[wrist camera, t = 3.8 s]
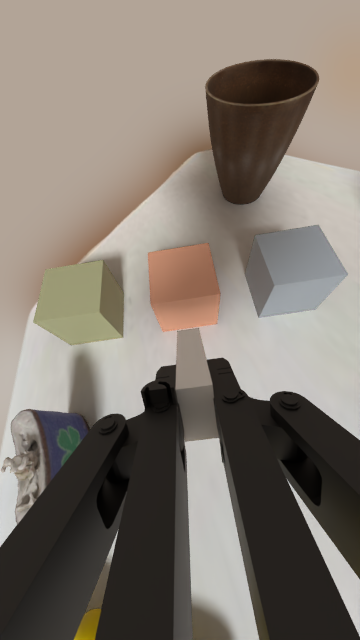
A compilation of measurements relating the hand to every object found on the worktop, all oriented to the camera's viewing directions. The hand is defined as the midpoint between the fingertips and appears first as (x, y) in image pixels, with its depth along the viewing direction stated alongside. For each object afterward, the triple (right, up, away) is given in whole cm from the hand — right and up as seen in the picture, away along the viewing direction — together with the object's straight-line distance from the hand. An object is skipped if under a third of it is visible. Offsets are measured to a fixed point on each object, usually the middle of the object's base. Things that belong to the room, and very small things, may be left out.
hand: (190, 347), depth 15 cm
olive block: (-14, +2, +19) cm, 23 cm away
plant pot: (+12, +28, +29) cm, 42 cm away
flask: (-12, -14, +11) cm, 21 cm away
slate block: (+14, +6, +17) cm, 23 cm away
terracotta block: (0, +4, +18) cm, 19 cm away
